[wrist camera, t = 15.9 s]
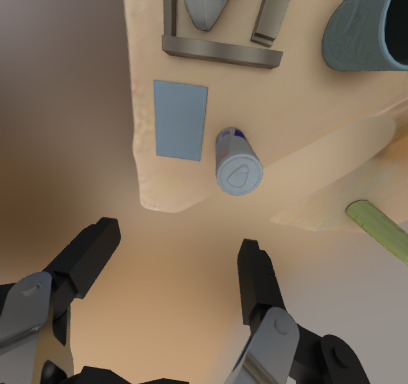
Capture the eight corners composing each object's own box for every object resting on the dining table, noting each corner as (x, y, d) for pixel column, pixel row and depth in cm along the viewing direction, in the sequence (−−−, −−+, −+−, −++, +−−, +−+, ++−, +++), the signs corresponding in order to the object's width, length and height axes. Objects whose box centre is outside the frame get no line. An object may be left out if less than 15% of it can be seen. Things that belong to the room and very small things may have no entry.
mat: (207, 87, 27) (207, 87, 27) (199, 160, 34) (199, 161, 34) (154, 79, 27) (153, 79, 27) (157, 154, 34) (156, 155, 34)
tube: (339, 216, 40) (426, 306, 23) (348, 199, 37) (454, 287, 21) (364, 216, 39) (471, 308, 23) (374, 199, 37) (505, 289, 20)
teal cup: (405, 36, 23) (555, -6, 13) (330, 94, 27) (399, 96, 17) (383, -48, 19) (569, -199, 9) (300, 33, 23) (366, -10, 13)
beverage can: (218, 158, 34) (219, 199, 21) (213, 130, 31) (212, 158, 18) (245, 153, 33) (264, 193, 20) (243, 124, 30) (264, 149, 18)
